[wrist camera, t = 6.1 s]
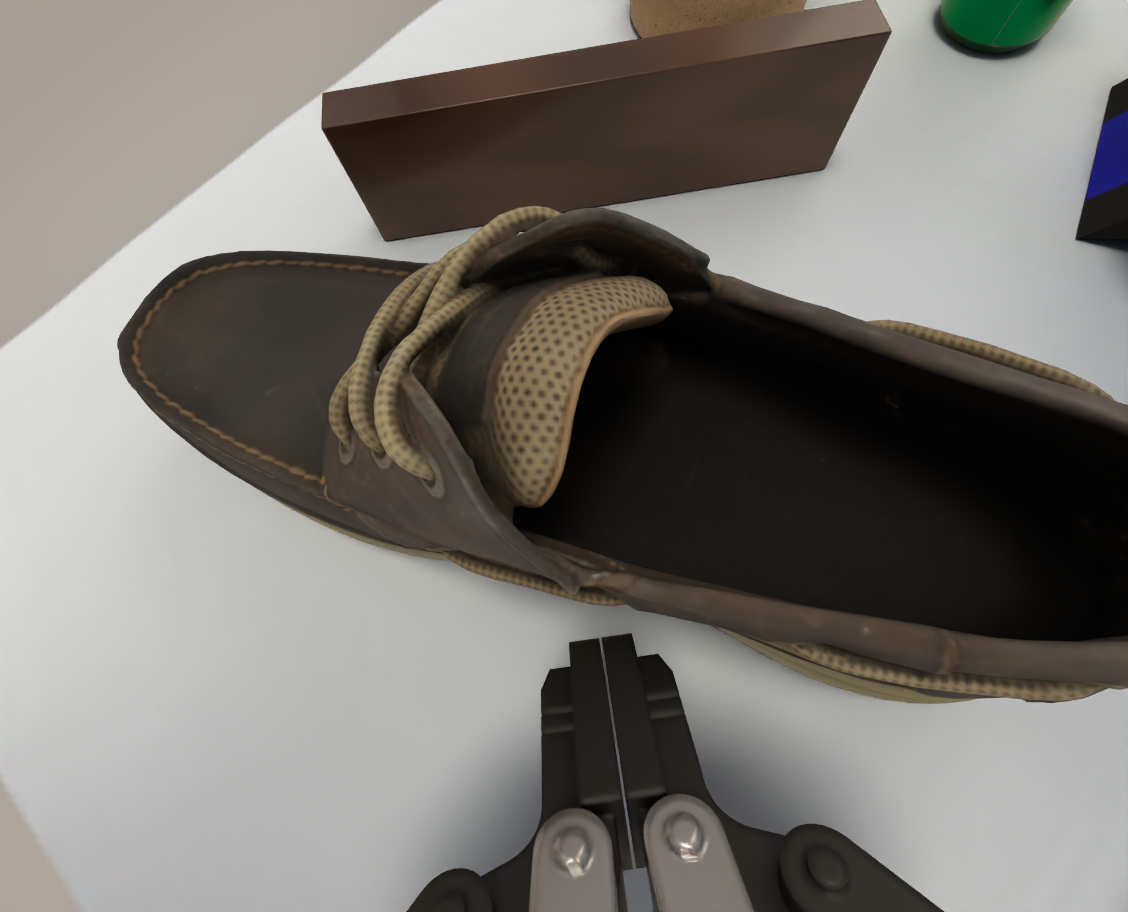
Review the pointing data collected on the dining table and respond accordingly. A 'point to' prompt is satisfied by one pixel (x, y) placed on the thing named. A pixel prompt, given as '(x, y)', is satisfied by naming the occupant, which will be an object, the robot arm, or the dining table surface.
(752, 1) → the candle holder
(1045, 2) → the soda can
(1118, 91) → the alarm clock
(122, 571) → the dining table surface
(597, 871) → the robot arm
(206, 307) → the boat shoe
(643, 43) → the thin brown rectangular board
